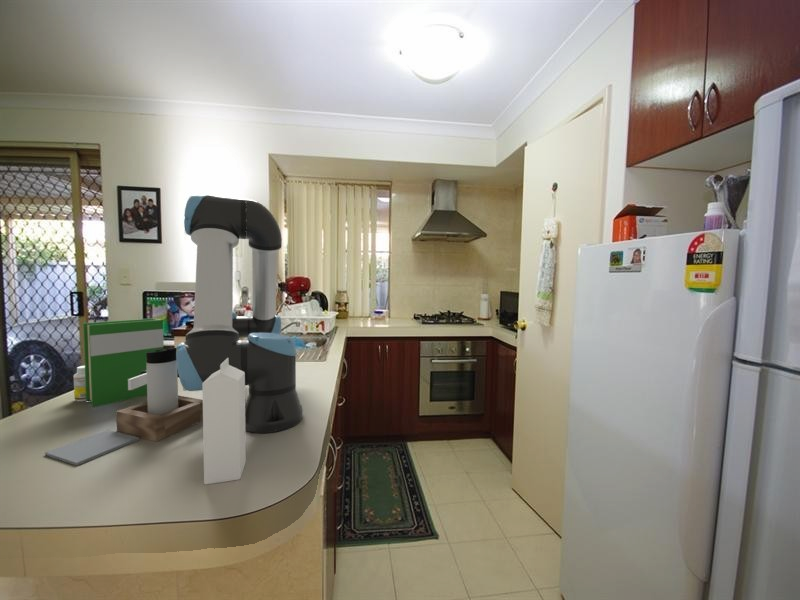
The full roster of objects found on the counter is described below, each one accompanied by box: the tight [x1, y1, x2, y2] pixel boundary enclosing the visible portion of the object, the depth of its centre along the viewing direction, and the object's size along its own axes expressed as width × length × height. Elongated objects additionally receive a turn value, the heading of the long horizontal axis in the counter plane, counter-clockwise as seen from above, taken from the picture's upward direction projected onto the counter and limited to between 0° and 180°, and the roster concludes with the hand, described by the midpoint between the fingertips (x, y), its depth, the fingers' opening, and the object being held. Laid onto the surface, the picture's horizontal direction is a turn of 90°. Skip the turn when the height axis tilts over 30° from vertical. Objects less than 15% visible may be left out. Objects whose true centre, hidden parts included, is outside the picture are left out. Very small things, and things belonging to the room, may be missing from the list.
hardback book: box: [82, 317, 165, 408], centre depth 100 cm, size 18×7×24 cm, turn 145°
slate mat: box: [44, 429, 139, 466], centre depth 70 cm, size 11×11×1 cm
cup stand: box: [115, 394, 203, 442], centre depth 81 cm, size 14×13×5 cm
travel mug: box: [146, 347, 179, 415], centre depth 80 cm, size 6×7×20 cm
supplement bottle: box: [73, 364, 86, 402], centre depth 97 cm, size 6×6×10 cm
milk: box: [201, 358, 247, 485], centre depth 60 cm, size 6×6×22 cm
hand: (156, 385), depth 78 cm, fingers open, 13 cm apart
